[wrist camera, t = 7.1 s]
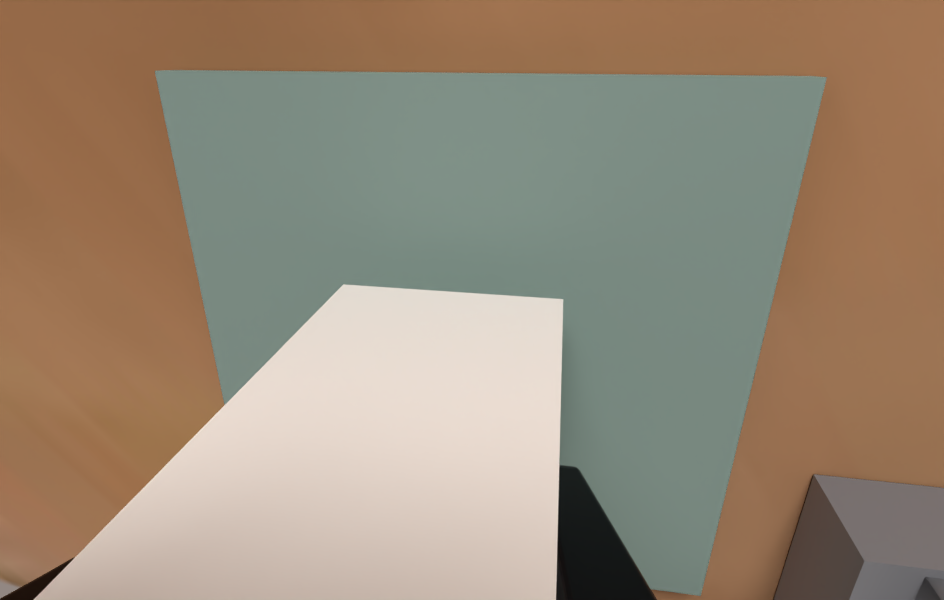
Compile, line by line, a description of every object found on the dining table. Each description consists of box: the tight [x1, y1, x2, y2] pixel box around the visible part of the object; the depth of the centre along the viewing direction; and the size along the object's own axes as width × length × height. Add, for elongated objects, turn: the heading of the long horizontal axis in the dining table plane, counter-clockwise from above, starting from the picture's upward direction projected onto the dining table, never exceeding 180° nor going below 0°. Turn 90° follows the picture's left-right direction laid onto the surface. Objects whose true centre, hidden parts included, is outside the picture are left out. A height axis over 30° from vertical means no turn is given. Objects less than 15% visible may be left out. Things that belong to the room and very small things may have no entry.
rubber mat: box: [155, 70, 827, 596], centre depth 13 cm, size 12×12×1 cm
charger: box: [34, 284, 563, 600], centre depth 8 cm, size 4×5×7 cm
